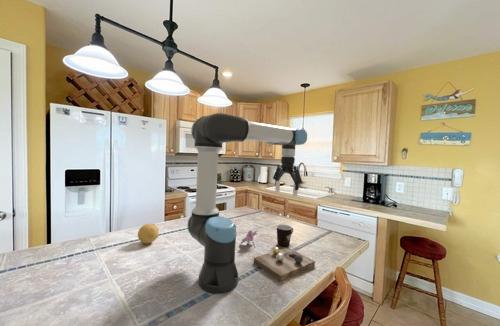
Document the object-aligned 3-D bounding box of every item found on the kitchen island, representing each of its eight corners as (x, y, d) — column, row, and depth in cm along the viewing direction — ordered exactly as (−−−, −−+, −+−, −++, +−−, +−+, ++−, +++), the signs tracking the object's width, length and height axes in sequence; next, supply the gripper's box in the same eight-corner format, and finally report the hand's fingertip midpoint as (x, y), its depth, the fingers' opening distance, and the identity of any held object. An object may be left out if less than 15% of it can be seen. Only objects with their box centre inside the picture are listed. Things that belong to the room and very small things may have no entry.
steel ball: (279, 263, 92) (280, 256, 92) (274, 260, 95) (274, 253, 95) (285, 261, 94) (285, 254, 94) (279, 258, 97) (280, 251, 97)
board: (280, 282, 83) (280, 275, 83) (253, 263, 97) (253, 257, 97) (314, 266, 97) (315, 261, 96) (286, 251, 110) (287, 247, 110)
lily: (260, 243, 121) (253, 227, 123) (267, 243, 110) (260, 225, 113) (241, 253, 116) (234, 235, 119) (246, 253, 106) (239, 235, 108)
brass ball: (275, 256, 99) (276, 249, 98) (270, 253, 101) (271, 246, 101) (281, 255, 101) (281, 248, 101) (276, 252, 103) (276, 245, 103)
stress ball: (135, 247, 108) (143, 239, 103) (133, 229, 113) (141, 220, 108) (154, 245, 115) (163, 237, 111) (152, 228, 120) (160, 220, 116)
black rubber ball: (298, 265, 92) (299, 258, 92) (292, 262, 94) (293, 254, 94) (303, 263, 94) (304, 256, 94) (297, 260, 96) (298, 253, 96)
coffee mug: (279, 248, 113) (280, 230, 113) (273, 242, 122) (274, 224, 121) (298, 247, 116) (300, 229, 116) (291, 240, 125) (292, 224, 124)
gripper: (310, 157, 113) (307, 197, 113) (277, 156, 132) (275, 189, 133) (301, 157, 108) (298, 198, 109) (268, 155, 128) (266, 190, 129)
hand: (285, 193), depth 121 cm, fingers open, 13 cm apart
